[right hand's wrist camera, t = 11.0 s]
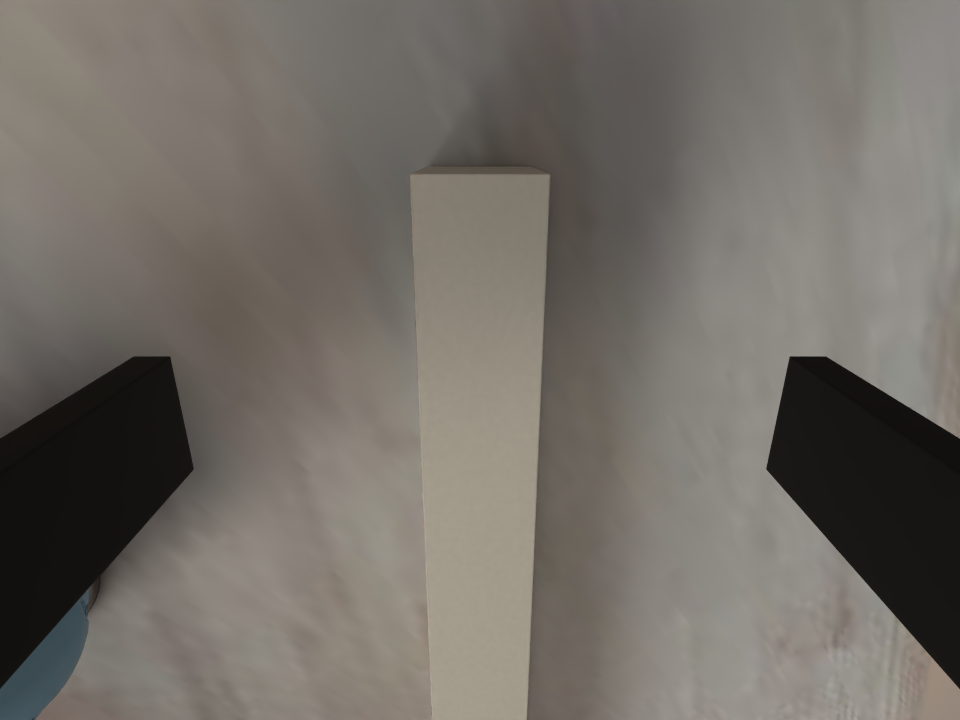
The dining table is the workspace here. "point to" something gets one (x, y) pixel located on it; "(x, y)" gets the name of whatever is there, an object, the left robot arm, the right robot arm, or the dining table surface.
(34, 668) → the left robot arm
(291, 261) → the dining table surface
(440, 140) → the dining table surface
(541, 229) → the beam
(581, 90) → the dining table surface
